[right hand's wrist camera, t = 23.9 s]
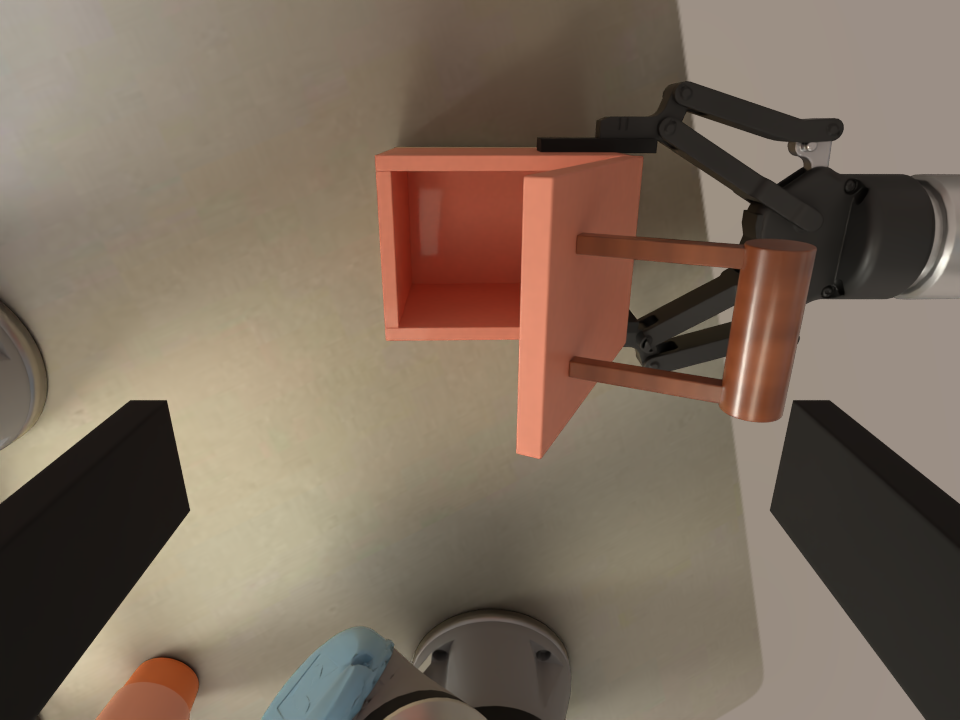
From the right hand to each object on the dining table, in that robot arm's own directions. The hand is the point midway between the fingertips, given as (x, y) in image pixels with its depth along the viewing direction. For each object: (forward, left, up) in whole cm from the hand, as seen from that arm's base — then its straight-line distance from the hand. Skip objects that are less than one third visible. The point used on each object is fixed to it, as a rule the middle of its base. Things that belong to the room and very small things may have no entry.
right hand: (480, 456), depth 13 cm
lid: (+1, -4, -15) cm, 15 cm away
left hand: (+1, -3, -26) cm, 26 cm away
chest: (0, -1, -32) cm, 32 cm away
